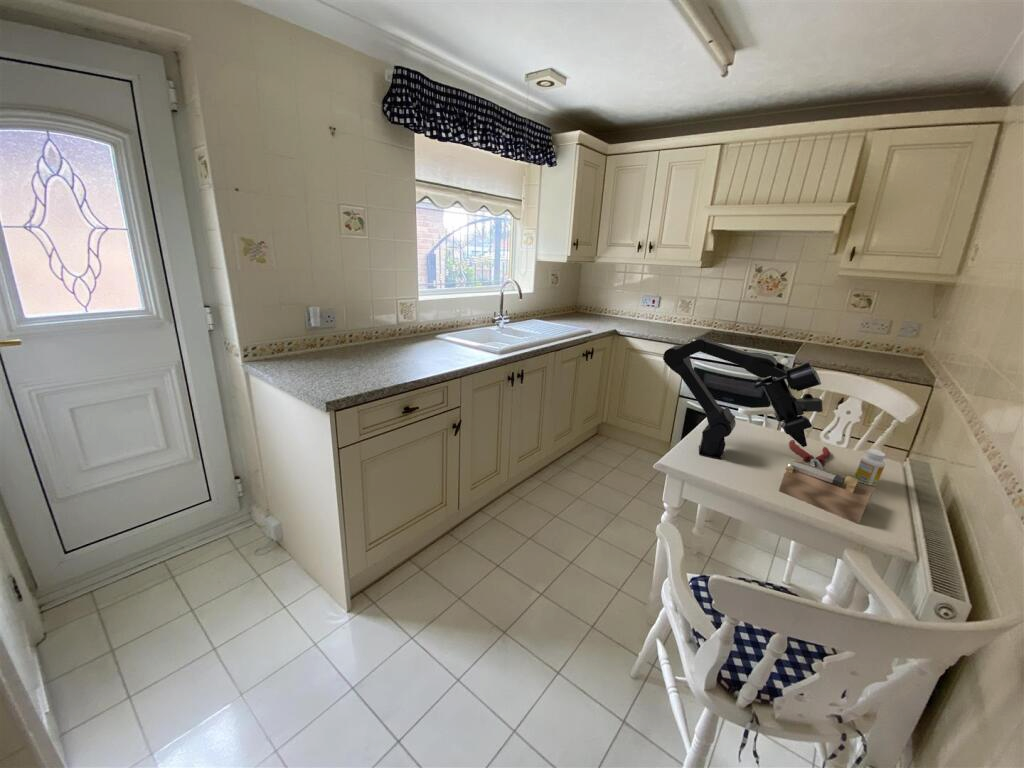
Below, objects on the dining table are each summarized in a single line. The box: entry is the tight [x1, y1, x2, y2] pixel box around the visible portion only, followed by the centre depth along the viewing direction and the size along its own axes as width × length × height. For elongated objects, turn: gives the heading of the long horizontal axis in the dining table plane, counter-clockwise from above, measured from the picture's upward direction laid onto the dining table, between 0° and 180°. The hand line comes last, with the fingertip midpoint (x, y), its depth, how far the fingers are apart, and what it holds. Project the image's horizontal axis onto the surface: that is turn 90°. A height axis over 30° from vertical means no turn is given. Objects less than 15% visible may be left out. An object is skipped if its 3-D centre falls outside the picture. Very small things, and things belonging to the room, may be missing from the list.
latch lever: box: [786, 460, 846, 486], centre depth 115 cm, size 13×4×1 cm, turn 43°
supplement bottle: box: [854, 448, 886, 486], centre depth 123 cm, size 5×5×10 cm
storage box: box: [778, 458, 875, 525], centre depth 113 cm, size 18×12×8 cm, turn 43°
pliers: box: [788, 439, 831, 470], centre depth 135 cm, size 12×20×3 cm, turn 154°
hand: (804, 446), depth 119 cm, fingers closed
